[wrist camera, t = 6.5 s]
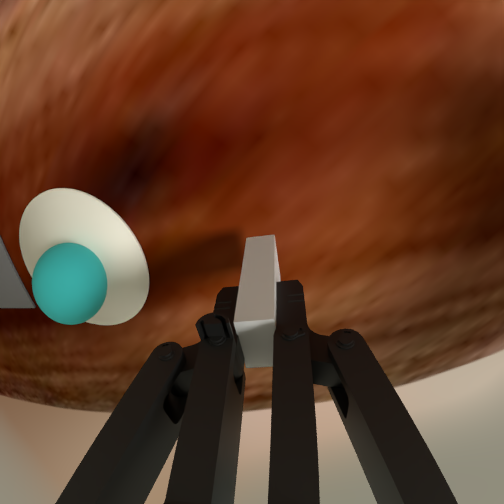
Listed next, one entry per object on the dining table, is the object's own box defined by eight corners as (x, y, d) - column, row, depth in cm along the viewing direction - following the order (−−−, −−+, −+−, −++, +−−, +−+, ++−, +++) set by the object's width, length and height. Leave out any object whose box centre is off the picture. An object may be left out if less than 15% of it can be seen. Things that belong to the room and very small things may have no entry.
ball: (88, 220, 20) (91, 247, 16) (113, 283, 23) (125, 321, 19) (24, 249, 18) (12, 283, 14) (55, 309, 21) (55, 352, 16)
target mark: (117, 169, 17) (115, 170, 17) (170, 322, 23) (170, 324, 23) (2, 206, 19) (0, 207, 18) (58, 323, 25) (57, 324, 24)
